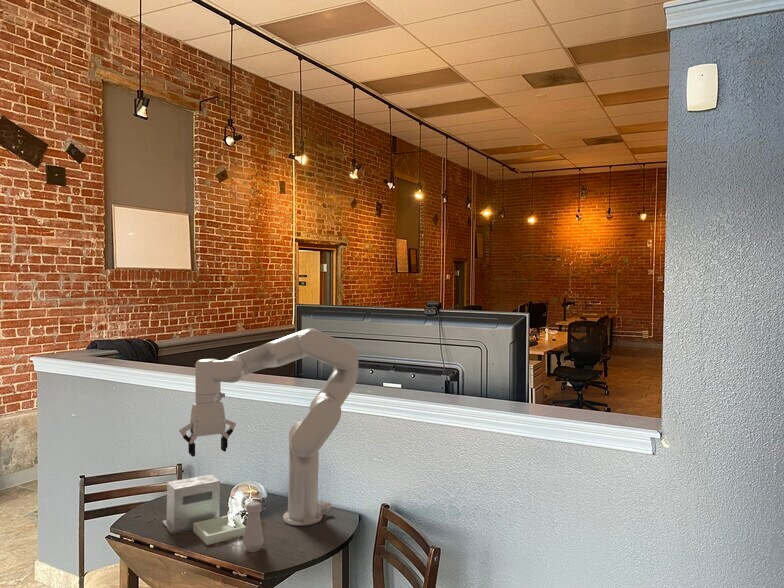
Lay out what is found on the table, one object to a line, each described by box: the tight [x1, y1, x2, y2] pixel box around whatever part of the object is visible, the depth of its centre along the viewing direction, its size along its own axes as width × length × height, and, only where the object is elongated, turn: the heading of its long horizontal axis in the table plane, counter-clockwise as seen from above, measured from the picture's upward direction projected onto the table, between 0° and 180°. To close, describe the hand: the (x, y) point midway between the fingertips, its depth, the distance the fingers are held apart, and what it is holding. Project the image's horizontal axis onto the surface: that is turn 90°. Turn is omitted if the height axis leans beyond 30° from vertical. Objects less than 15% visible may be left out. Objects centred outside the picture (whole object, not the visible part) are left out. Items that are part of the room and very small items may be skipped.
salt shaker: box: [242, 501, 265, 553], centre depth 160 cm, size 6×6×13 cm
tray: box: [192, 514, 246, 546], centre depth 170 cm, size 12×12×2 cm
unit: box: [161, 474, 221, 535], centre depth 178 cm, size 16×10×13 cm, turn 127°
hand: (208, 453), depth 177 cm, fingers open, 9 cm apart
